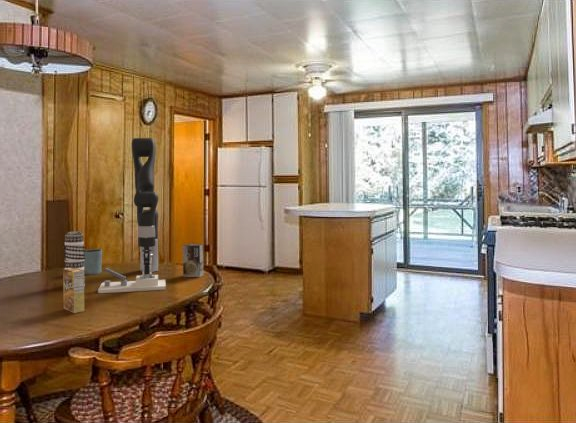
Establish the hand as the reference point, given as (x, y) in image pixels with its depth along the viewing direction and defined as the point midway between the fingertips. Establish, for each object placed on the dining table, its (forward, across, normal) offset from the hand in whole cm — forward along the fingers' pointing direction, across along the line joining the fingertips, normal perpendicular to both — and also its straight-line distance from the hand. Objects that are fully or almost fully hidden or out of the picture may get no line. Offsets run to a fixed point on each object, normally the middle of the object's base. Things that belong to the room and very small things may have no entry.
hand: (147, 273), depth 209 cm
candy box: (+7, +34, -25) cm, 43 cm away
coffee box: (+7, -21, +22) cm, 31 cm away
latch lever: (0, 0, -14) cm, 14 cm away
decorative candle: (+7, -10, -32) cm, 34 cm away
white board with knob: (+6, 0, -6) cm, 9 cm away
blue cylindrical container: (+7, -42, -29) cm, 51 cm away
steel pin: (+3, 0, 0) cm, 3 cm away
